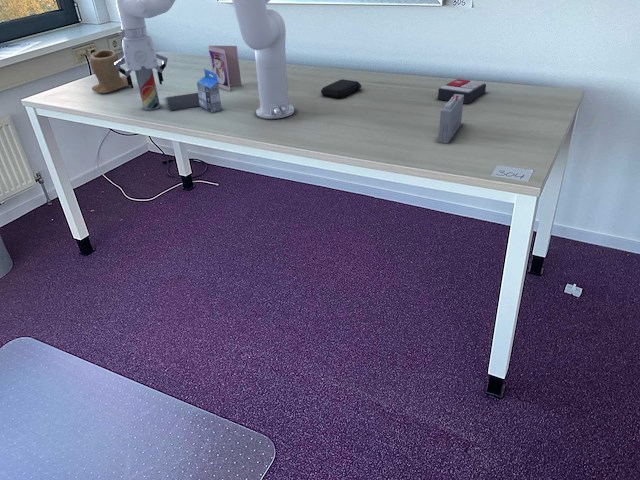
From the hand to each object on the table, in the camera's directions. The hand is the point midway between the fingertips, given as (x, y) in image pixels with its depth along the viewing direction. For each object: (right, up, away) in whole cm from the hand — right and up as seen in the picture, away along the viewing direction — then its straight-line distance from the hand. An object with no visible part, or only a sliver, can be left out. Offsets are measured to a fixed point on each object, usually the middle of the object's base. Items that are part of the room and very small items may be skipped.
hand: (146, 85), depth 180 cm
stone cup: (-21, +6, +26) cm, 34 cm away
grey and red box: (+109, -4, 0) cm, 109 cm away
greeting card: (+24, +6, +23) cm, 34 cm away
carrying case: (+68, 0, +9) cm, 69 cm away
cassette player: (+98, -22, -29) cm, 104 cm away
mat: (+12, -3, +8) cm, 15 cm away
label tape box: (+22, -8, 0) cm, 23 cm away
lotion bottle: (+1, -7, +4) cm, 8 cm away
